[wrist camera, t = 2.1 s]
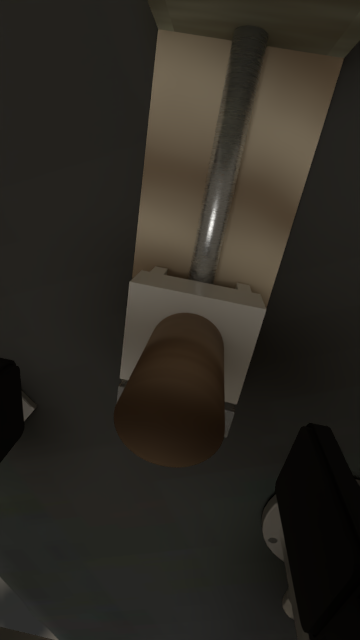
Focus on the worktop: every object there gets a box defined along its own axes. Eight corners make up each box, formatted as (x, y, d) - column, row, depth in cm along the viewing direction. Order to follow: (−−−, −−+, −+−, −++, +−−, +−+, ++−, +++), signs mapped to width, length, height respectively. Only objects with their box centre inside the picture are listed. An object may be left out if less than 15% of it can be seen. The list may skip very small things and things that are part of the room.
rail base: (238, 383, 23) (247, 495, 15) (128, 359, 24) (74, 453, 15) (384, -101, 13) (726, -723, 4) (182, -127, 13) (109, -734, 5)
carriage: (234, 367, 21) (243, 504, 11) (137, 346, 21) (72, 462, 12) (257, 286, 18) (293, 378, 9) (147, 264, 19) (76, 331, 9)
